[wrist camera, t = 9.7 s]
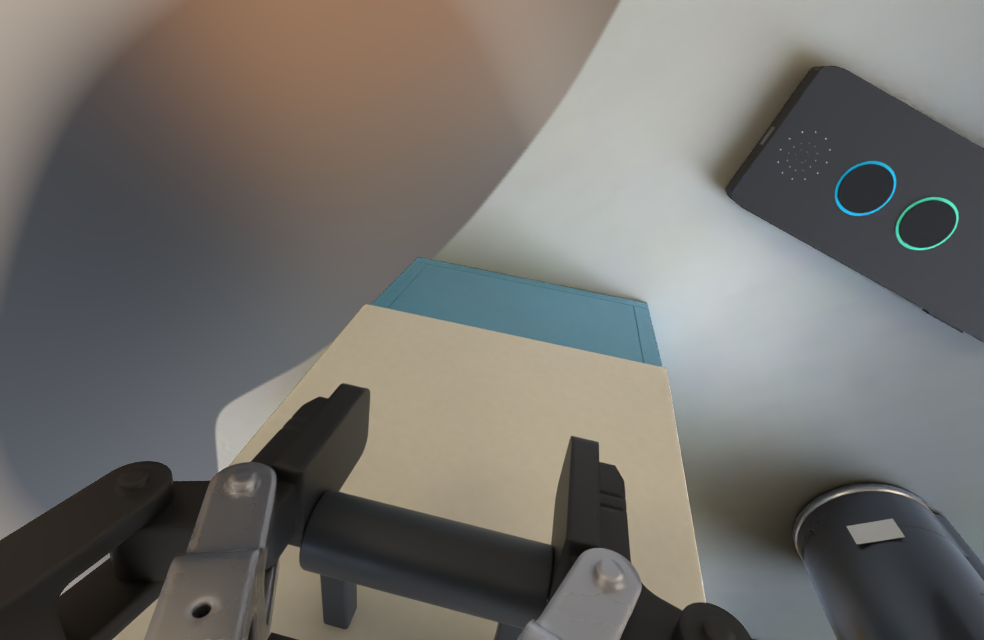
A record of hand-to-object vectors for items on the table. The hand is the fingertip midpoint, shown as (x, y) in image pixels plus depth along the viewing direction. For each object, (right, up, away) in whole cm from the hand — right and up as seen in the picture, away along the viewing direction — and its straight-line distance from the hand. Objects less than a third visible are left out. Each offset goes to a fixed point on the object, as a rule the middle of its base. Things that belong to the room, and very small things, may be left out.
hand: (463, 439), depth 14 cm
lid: (0, -3, +6) cm, 6 cm away
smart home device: (+25, +9, +16) cm, 31 cm away
